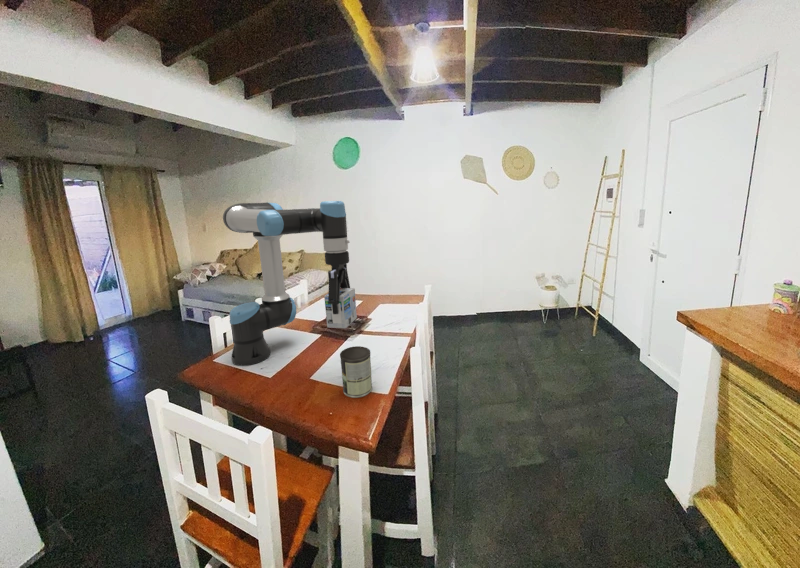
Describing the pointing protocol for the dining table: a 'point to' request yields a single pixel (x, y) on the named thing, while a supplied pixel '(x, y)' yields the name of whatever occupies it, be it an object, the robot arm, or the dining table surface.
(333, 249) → the robot arm
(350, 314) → the light bulb box
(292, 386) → the dining table surface
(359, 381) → the coffee can
